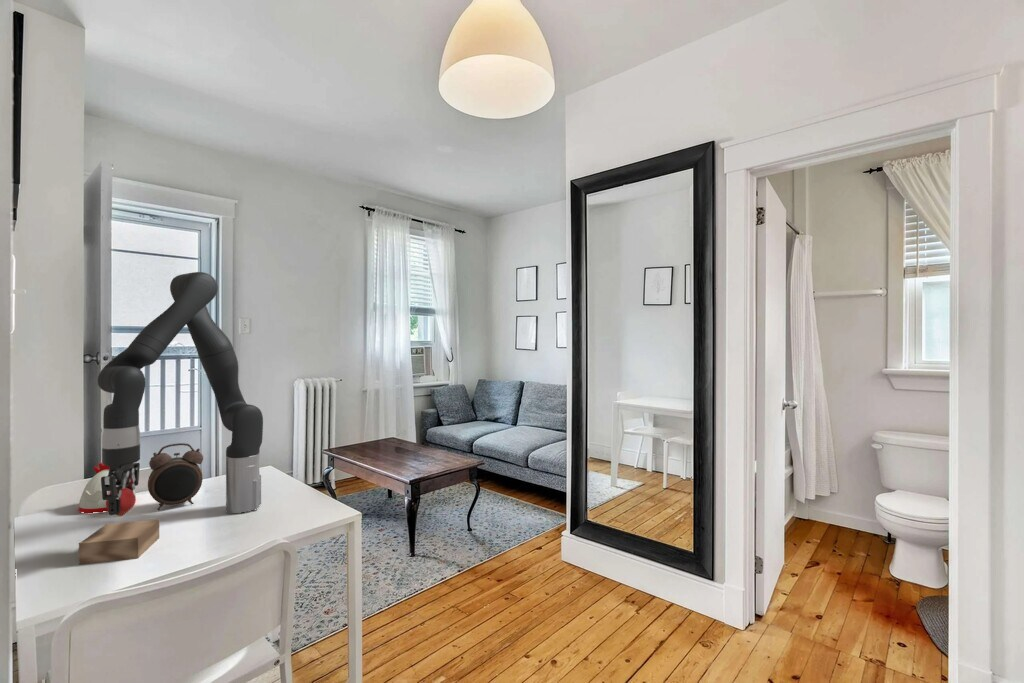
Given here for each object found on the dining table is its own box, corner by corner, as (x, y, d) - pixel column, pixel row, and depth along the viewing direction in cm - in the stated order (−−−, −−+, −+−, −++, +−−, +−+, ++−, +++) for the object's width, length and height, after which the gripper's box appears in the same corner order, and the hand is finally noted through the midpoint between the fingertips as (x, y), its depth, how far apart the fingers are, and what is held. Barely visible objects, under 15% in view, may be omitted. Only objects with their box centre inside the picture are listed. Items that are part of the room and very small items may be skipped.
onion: (117, 511, 124) (117, 481, 124) (141, 511, 124) (141, 480, 124) (100, 520, 118) (100, 488, 118) (124, 519, 118) (124, 488, 118)
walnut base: (159, 537, 128) (159, 519, 128) (138, 558, 117) (138, 537, 117) (106, 543, 125) (106, 524, 125) (79, 564, 114) (79, 543, 114)
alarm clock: (148, 514, 145) (147, 449, 144) (147, 507, 150) (147, 445, 150) (204, 504, 154) (204, 442, 154) (202, 498, 159) (201, 439, 159)
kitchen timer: (114, 513, 146) (114, 465, 145) (66, 514, 144) (66, 465, 144) (145, 498, 159) (145, 453, 159) (102, 498, 158) (102, 454, 158)
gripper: (124, 449, 115) (124, 519, 115) (151, 437, 129) (151, 499, 129) (87, 451, 113) (87, 522, 113) (118, 438, 127) (118, 501, 127)
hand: (121, 509), depth 121 cm, fingers closed on onion, 6 cm apart
